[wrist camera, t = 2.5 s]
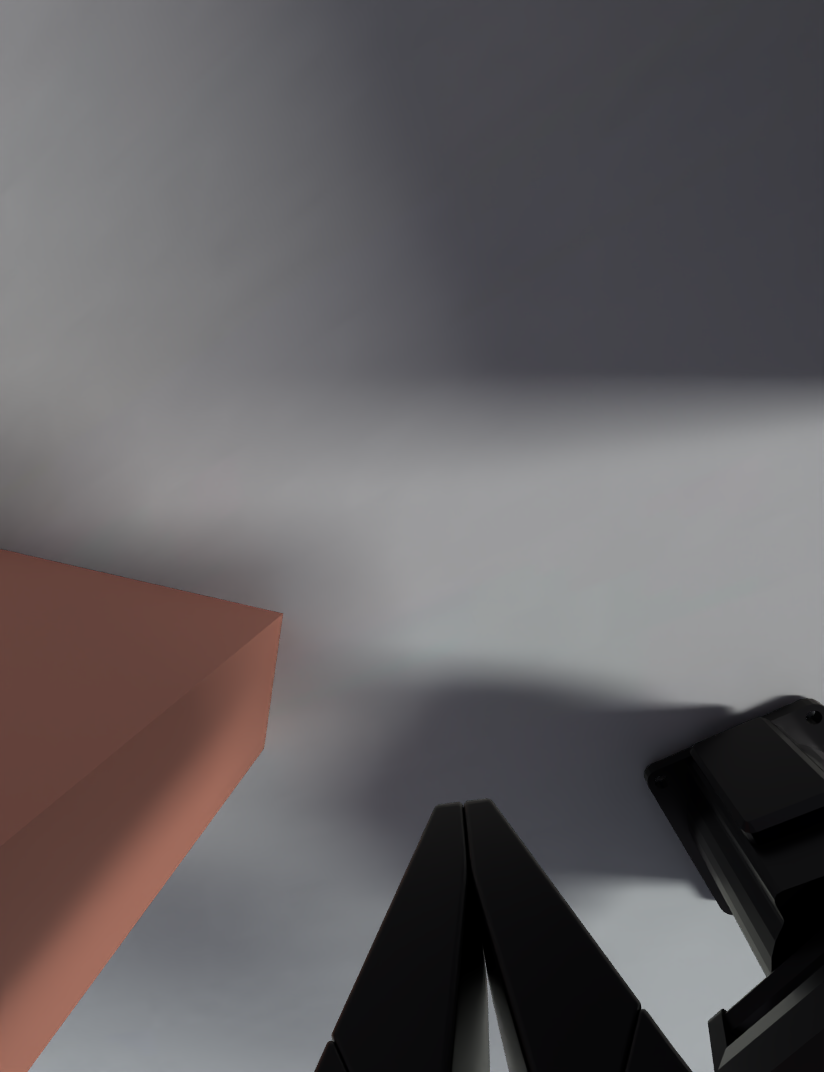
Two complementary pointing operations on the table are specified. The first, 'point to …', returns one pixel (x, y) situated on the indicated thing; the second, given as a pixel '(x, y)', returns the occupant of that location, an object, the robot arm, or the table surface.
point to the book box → (108, 765)
